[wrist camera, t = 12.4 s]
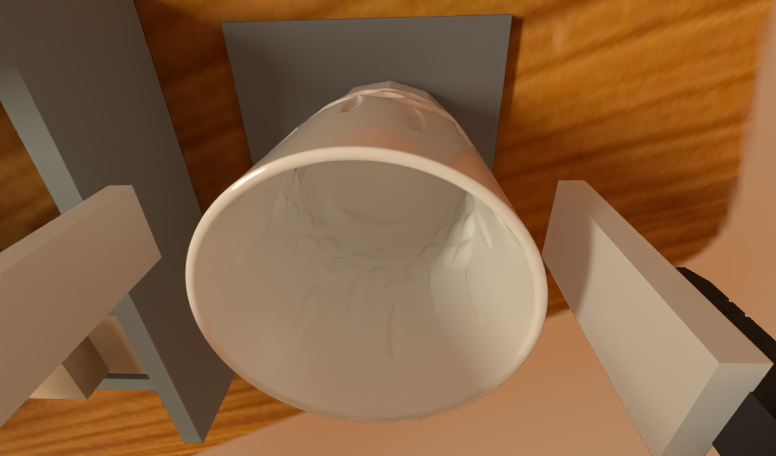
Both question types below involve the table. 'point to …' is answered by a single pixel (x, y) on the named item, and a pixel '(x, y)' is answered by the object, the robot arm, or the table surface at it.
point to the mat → (367, 69)
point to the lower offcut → (115, 347)
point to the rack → (116, 176)
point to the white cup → (369, 265)
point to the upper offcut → (75, 375)
